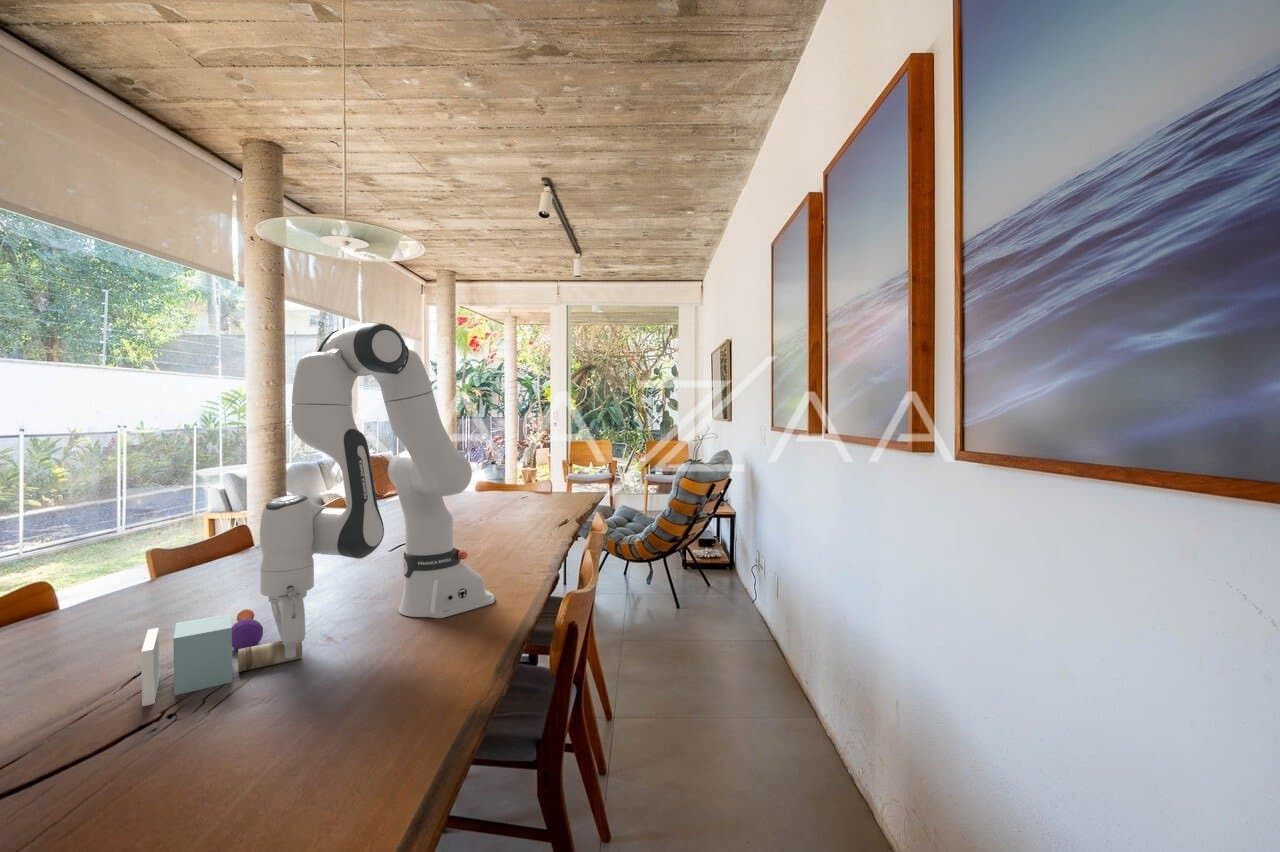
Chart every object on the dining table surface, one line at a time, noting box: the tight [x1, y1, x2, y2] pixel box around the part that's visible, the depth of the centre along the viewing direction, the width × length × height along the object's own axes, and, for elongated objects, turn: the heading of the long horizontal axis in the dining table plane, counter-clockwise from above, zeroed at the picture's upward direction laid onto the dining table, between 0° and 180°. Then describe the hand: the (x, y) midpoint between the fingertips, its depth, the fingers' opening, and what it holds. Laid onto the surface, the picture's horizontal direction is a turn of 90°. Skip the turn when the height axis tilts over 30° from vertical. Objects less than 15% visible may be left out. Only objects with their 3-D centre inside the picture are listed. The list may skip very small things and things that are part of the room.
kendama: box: [231, 609, 264, 651], centre depth 122 cm, size 6×6×20 cm
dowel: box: [237, 640, 303, 673], centre depth 108 cm, size 10×4×4 cm, turn 127°
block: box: [172, 613, 233, 696], centre depth 102 cm, size 8×9×10 cm
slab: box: [140, 627, 161, 707], centre depth 98 cm, size 2×12×9 cm, turn 37°
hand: (288, 651), depth 110 cm, fingers closed on dowel, 4 cm apart
